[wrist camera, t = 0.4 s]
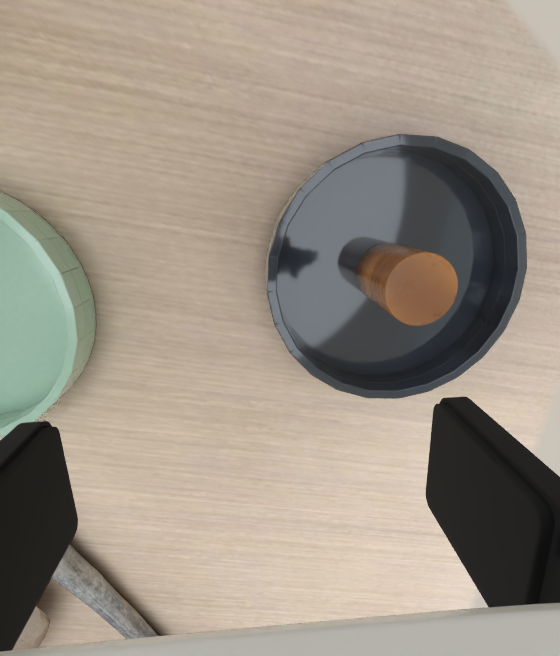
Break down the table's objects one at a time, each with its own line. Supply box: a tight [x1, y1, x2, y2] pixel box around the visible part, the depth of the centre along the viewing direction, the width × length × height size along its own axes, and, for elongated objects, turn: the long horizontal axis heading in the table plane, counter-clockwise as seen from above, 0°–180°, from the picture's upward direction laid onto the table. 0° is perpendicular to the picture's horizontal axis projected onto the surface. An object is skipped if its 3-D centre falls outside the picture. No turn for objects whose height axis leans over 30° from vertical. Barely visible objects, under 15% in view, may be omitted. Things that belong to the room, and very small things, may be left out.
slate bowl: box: [265, 134, 527, 398], centre depth 26 cm, size 16×16×3 cm
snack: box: [356, 243, 458, 326], centre depth 24 cm, size 4×4×6 cm
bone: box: [52, 545, 158, 639], centre depth 32 cm, size 29×4×5 cm, turn 30°
